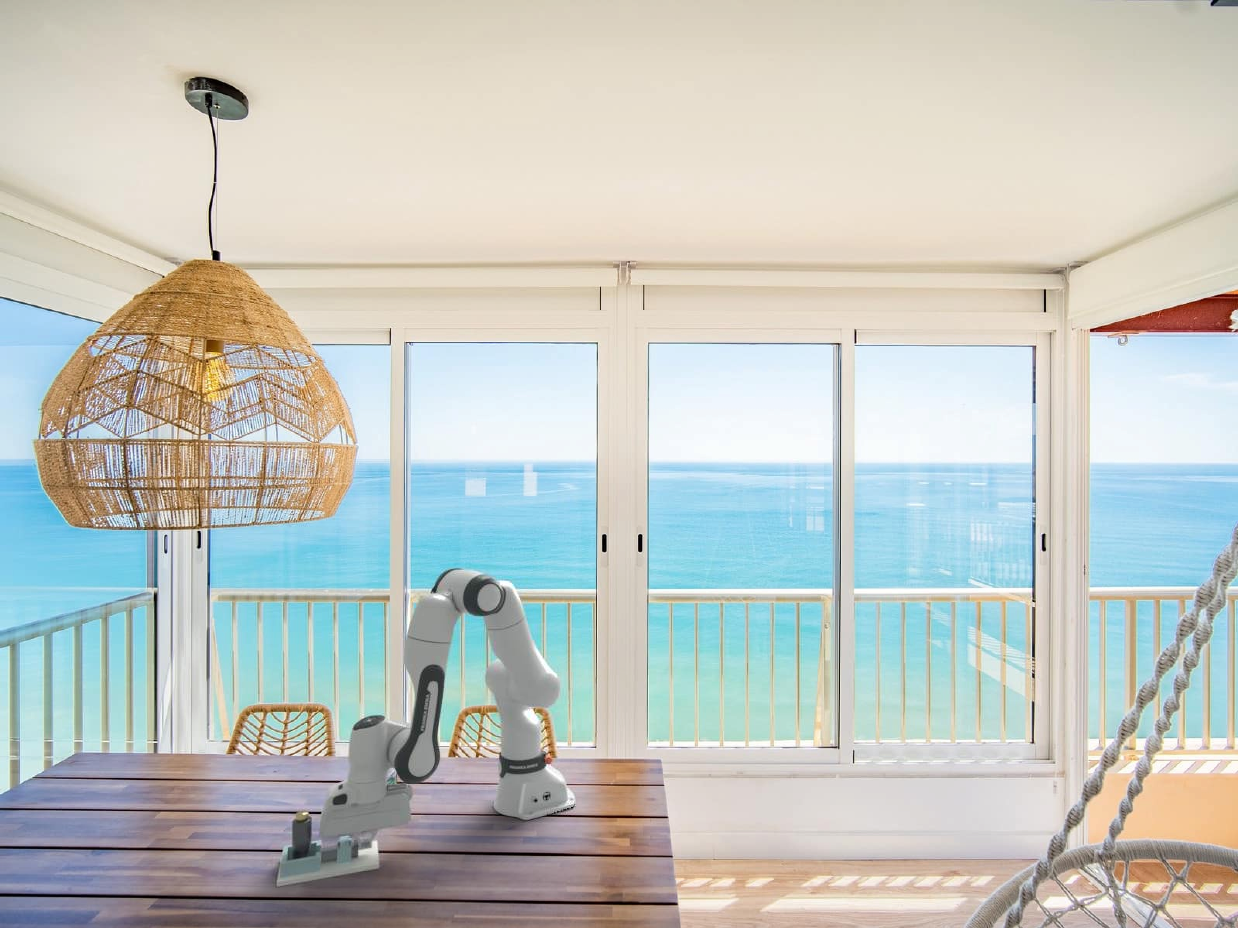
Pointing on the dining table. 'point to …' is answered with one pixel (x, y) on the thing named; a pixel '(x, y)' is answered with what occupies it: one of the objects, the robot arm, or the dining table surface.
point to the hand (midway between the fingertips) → (365, 848)
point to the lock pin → (331, 852)
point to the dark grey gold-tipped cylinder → (301, 835)
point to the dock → (325, 863)
